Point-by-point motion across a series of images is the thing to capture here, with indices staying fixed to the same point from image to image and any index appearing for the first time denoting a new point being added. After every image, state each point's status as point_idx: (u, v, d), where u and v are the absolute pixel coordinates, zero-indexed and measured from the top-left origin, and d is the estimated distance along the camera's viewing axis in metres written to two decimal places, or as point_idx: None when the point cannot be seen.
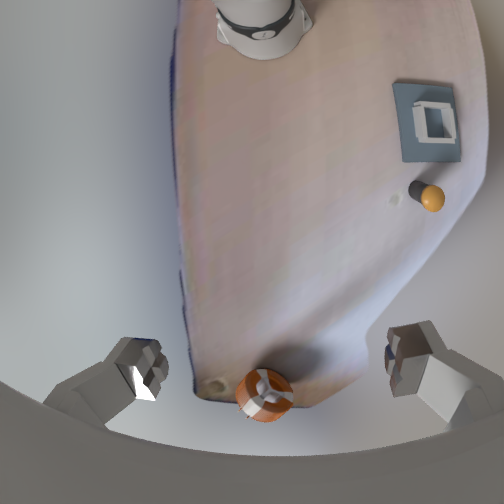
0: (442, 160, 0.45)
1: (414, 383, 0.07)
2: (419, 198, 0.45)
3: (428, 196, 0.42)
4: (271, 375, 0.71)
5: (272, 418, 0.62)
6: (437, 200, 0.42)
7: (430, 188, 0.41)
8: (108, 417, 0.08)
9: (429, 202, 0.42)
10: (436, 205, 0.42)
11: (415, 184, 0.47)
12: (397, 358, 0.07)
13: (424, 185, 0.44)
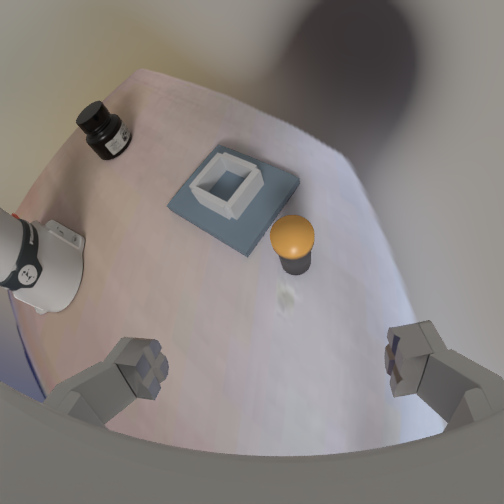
0: (280, 201, 0.40)
1: (414, 383, 0.07)
2: (287, 260, 0.32)
3: (281, 242, 0.30)
4: None
5: None
6: (297, 230, 0.30)
7: (272, 232, 0.31)
8: (108, 417, 0.08)
9: (291, 245, 0.30)
10: (303, 236, 0.30)
11: None
12: (396, 358, 0.07)
13: None
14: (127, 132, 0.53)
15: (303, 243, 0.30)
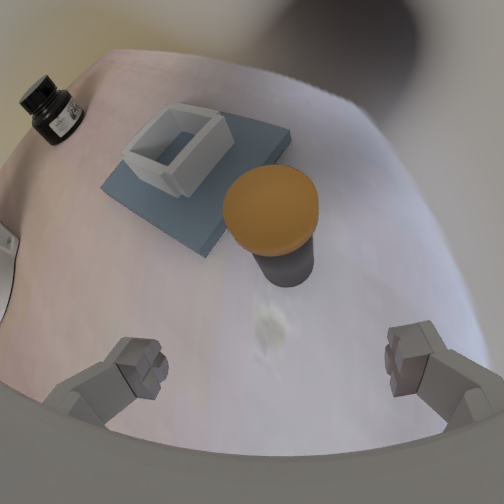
0: (258, 164, 0.24)
1: (414, 383, 0.07)
2: (265, 259, 0.16)
3: (246, 218, 0.14)
4: None
5: None
6: (281, 193, 0.14)
7: (228, 200, 0.14)
8: (108, 417, 0.08)
9: (266, 224, 0.13)
10: (295, 204, 0.13)
11: None
12: (397, 358, 0.07)
13: None
14: (78, 109, 0.38)
15: (294, 219, 0.13)
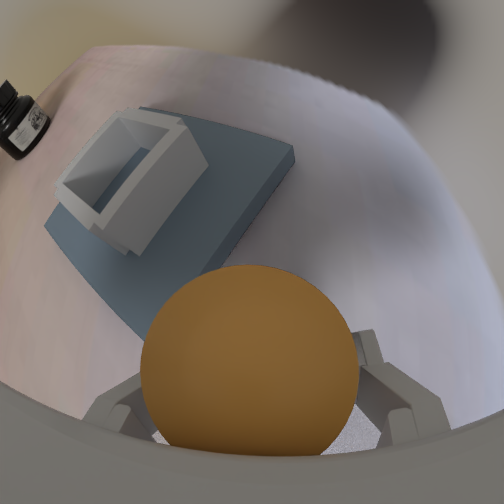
0: (243, 204, 0.15)
1: None
2: None
3: (187, 407, 0.05)
4: None
5: None
6: (269, 355, 0.05)
7: (150, 351, 0.06)
8: (155, 429, 0.07)
9: (231, 430, 0.05)
10: (301, 388, 0.05)
11: None
12: None
13: None
14: (41, 117, 0.30)
15: (296, 427, 0.05)
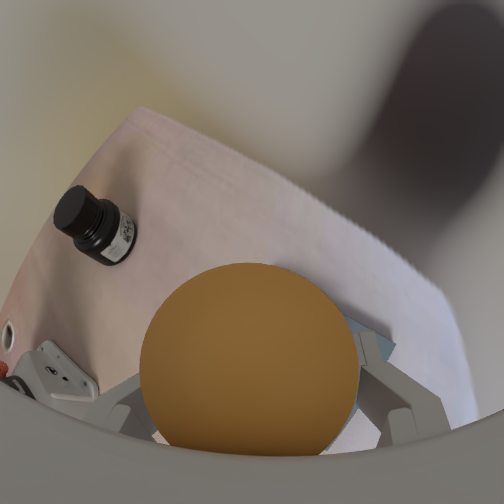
0: None
1: None
2: None
3: (187, 406, 0.05)
4: None
5: None
6: (268, 353, 0.05)
7: (149, 350, 0.06)
8: (155, 429, 0.07)
9: (230, 429, 0.05)
10: (301, 386, 0.05)
11: None
12: None
13: None
14: (130, 227, 0.40)
15: (296, 425, 0.05)
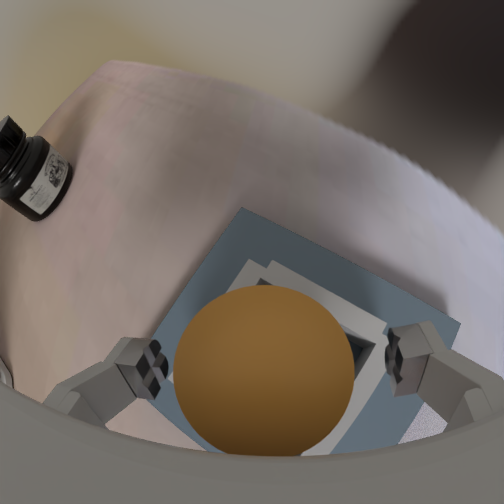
0: (421, 399, 0.12)
1: (414, 383, 0.07)
2: None
3: (214, 403, 0.07)
4: None
5: None
6: (282, 358, 0.07)
7: (182, 357, 0.07)
8: (108, 417, 0.08)
9: (252, 420, 0.06)
10: (308, 385, 0.06)
11: None
12: (396, 358, 0.07)
13: None
14: (61, 168, 0.26)
15: (305, 416, 0.06)
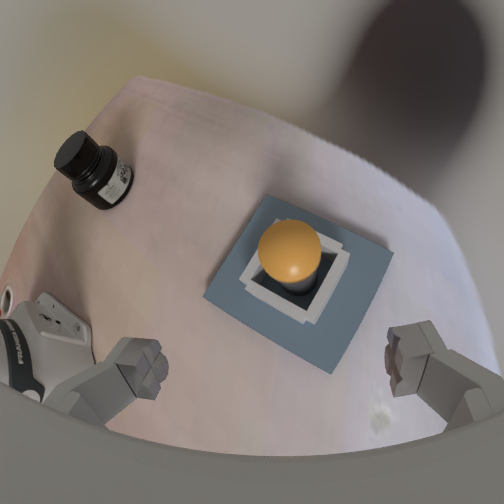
0: (372, 293, 0.26)
1: (414, 383, 0.07)
2: (286, 282, 0.23)
3: (274, 260, 0.21)
4: None
5: None
6: (296, 242, 0.21)
7: (261, 246, 0.22)
8: (108, 417, 0.08)
9: (288, 264, 0.21)
10: (306, 249, 0.21)
11: None
12: (397, 358, 0.07)
13: None
14: (127, 170, 0.40)
15: (305, 260, 0.20)
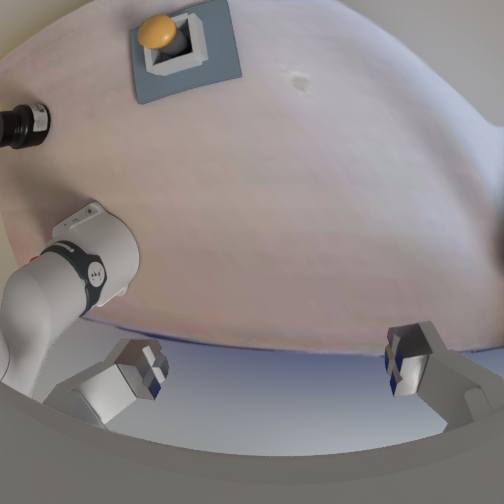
0: (228, 22, 0.29)
1: (414, 383, 0.07)
2: (168, 47, 0.27)
3: (151, 40, 0.24)
4: None
5: None
6: (156, 25, 0.24)
7: (140, 41, 0.25)
8: (108, 417, 0.08)
9: (159, 35, 0.24)
10: (163, 24, 0.23)
11: (165, 53, 0.30)
12: (396, 358, 0.07)
13: None
14: (38, 105, 0.36)
15: (166, 27, 0.24)
